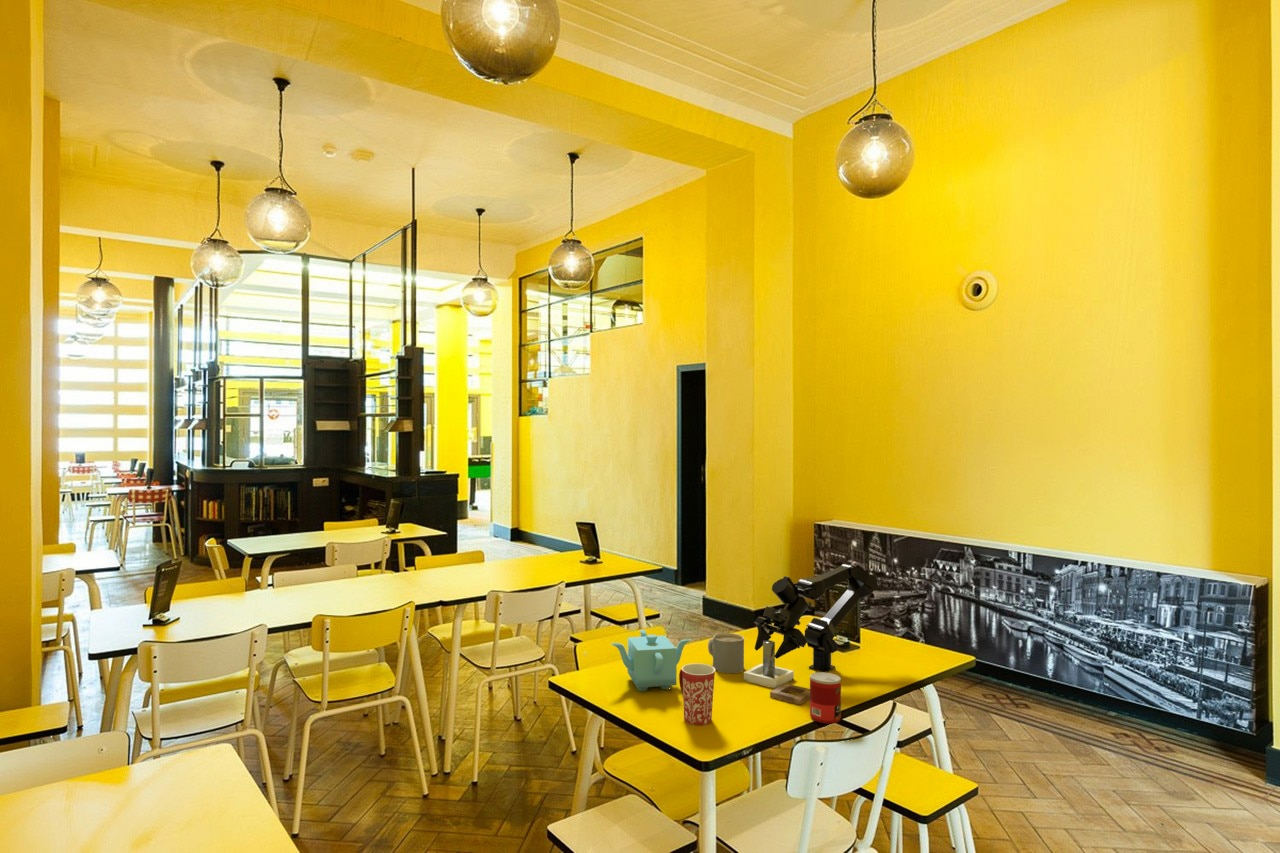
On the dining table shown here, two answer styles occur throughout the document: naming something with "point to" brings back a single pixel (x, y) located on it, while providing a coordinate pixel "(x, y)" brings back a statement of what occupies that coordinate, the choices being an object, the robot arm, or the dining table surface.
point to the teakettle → (651, 660)
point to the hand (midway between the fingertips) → (765, 653)
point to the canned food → (825, 697)
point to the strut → (769, 658)
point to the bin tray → (757, 677)
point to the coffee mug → (727, 652)
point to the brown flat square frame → (782, 694)
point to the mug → (697, 692)
